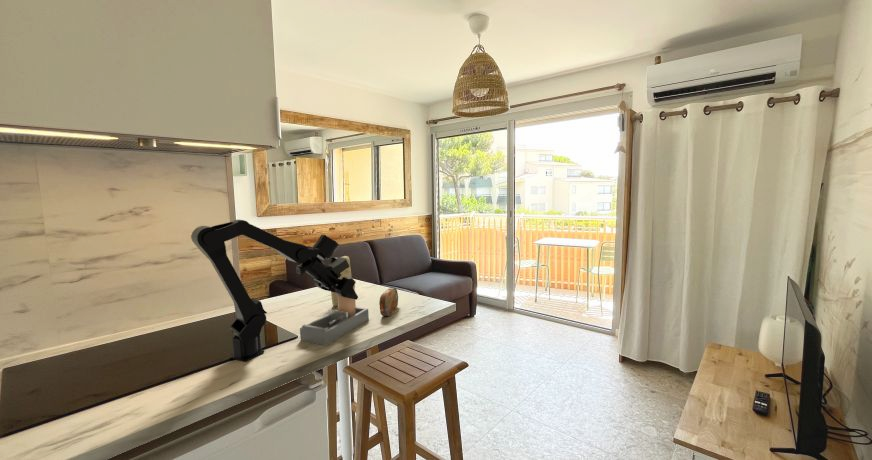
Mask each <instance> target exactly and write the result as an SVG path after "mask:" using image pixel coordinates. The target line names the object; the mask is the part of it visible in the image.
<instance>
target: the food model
mask: <svg viewBox="0 0 872 460" xmlns="http://www.w3.org/2000/svg"><path fill="white" fill-rule="evenodd" d="M341 257H342V258H346V260H347V262H348V264H349V266H350V267H349V268H347V269H345V270H344V271H343V272H341V273H340V274H342V275H341V276H340V278H338V279H342V278H343V277H349V278H352V268H351V260H350V257H349V256H347V255H344V256H341ZM335 258H336V259H337V258H338V257H335ZM330 296H331V302H332V305H333V306H334V307H338V297H337V293H335V292H331V291H330Z"/></svg>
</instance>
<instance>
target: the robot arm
mask: <svg viewBox="0 0 872 460" xmlns="http://www.w3.org/2000/svg"><path fill="white" fill-rule="evenodd" d="M239 236H242V237H246V238H248V239H250V240H252V241H254V242H256V243H259V244H261V245H263V246H265V247H268V248H270V249H273V250H274V251H276V252H277V253H278V254H279V255H280V256H281V257H283V258H285V259H286V260H288V261H291V262H292V263H293V262H294V263H295V264H298V265H296V266H295V267H296V270H295V271H296V272H295V273H296V274H299V275H301V276H303V275H304V274H305V273H306V274H308V275H309V276H311V277H312V279H313V285H315V286H316V287H317V288H319V289H322V290H323V291H327V292H330V293H331V292H335V293H337V294H338V295H340V296H342V297H346V298H351V299H355V301H356V300H358V299H359V296H358V294H357V293H356V290H355V291H354V289H353V286H354V285H355V286H356V280H354V278H352V277H351V278H349V277H343V278H342V279H338V278H340V276H341V275H342V274H340V273H341V272H343V271H344V270H345V269H347V268H349V267H350V266H351V265H350V266H349V264H348V262H347V260H346V258H342V257H343V256H340V257H334V256H333V255H334V253H335V252H336V250H338V248H339V247H340V245H339V243H338V241H336V240H334V239H332V238H331V237H330V236H327V235H326V234H321V235H319V238H318V239H317V241H316V242H315V243H314V244H313V246H310V245H305V244H300V243H298V242H294V241H289V240H286V239H284V238H281V237H279V236H277V235H274V234H273V233H270V232H268V231H266V230H263V229H262V228H259V227H258V226H256V225H253V224H251V223H249V222H248V220H244V219H234V220H233V221H230V222H224V223H220V224H217V225H212V226H208V225H199V226H197V227H196V228H195V229H194V230H193V231H192V232H191V235H190V239H191V241H192V243H193V244H194V245H195V246H196V247H197V249H199V251H200V252H201V253H202V254H203V255H204V256H205V258H207V259H208V260H209V261H210V263H211V265H212V267H213V268H214V270H215V272H216V273H217V276H218V277H219V279H220V281H221V282H222V284H223V286H224V288H225V290H226V291H227V294H228V295H229V297H230V298H231V300H232V302H233V304H234V305H233V306H234V312H235V316H236V318H235V320H234V321H233V322H232V323H231V325H230V326H229V329H230V331H231V333H232V334H234V336H233V337H232V338H231V339H232V349H233V350H232V352H233V354H231V355H230V356H229V358H230V359H233V360H237V361H241V362H248V361H250V360H251V359H254V358H255V357H257V356H259V355H261V354H263V353H265V350H264V349H262V341H261V332H262V329H263V327H264V326H265V324H266V321H267V314H268V311H266V310H265V309H264V307H263V304H262V303H263V302H261V300H259V299H257V298H255V297H252V298H251V297H250V295H249V294H248V291H247V289H246V287H245V286H244V285H243V282H242V280H241V279H240V277H239V274H238V273H237V272H236V269H235V268H234V266H233V264H232V262H231V260H230V259H229V256H228V254H227V248H226V243H225V242H228V241H230V240H233V239H234V238H237V237H239ZM336 258H337V259H336ZM325 260H328V265H327V264H326V263H324V261H325Z"/></svg>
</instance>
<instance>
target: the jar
mask: <svg viewBox="0 0 872 460" xmlns="http://www.w3.org/2000/svg"><path fill="white" fill-rule="evenodd" d="M353 289H354V291H355V292H356V284H355V285H354V286H353ZM337 297H338V306H337V310H338V311H345V312H348V318H349V317H351V316H353V315H355V314H356V307H357V305H356V300H355V299H351V298H346V297H342V296H340V295H338V294H337Z"/></svg>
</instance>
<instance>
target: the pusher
mask: <svg viewBox="0 0 872 460" xmlns="http://www.w3.org/2000/svg"><path fill="white" fill-rule="evenodd" d="M327 313H328V314H329V323H328V325H329V326H332V325H337V324H339V323H340V322H342V321H344V320H346V319H348V312H345V311H338V309H328V312H327ZM328 314H327V315H328Z"/></svg>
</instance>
